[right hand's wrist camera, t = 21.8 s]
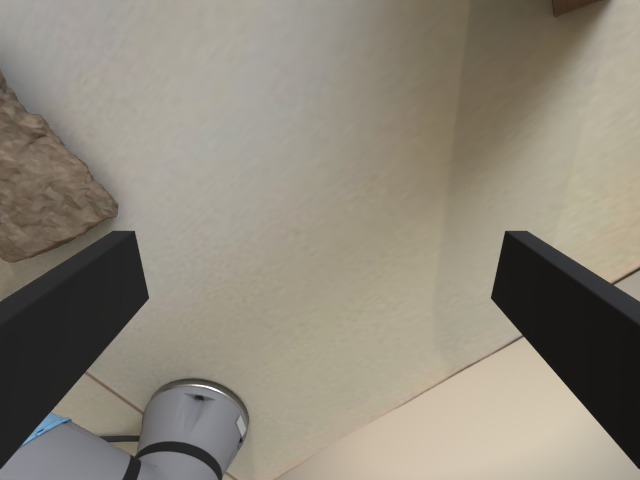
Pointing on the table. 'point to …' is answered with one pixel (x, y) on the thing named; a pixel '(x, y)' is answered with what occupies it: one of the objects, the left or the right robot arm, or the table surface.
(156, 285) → the table surface
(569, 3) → the box
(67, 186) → the stone
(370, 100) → the table surface
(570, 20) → the table surface
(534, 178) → the table surface
